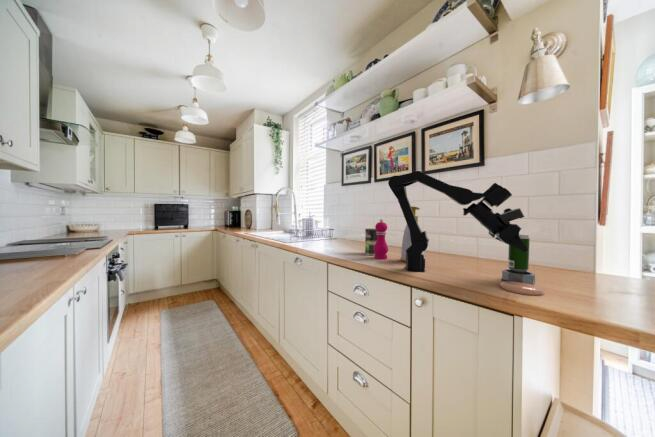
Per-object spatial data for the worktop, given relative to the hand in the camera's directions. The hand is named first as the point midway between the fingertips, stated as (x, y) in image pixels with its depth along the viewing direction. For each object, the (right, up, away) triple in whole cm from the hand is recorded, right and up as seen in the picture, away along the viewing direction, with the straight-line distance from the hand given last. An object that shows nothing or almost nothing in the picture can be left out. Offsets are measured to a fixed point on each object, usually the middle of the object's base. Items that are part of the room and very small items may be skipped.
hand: (523, 249), depth 78 cm
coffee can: (-40, -10, +52) cm, 67 cm away
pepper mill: (-39, -10, +40) cm, 57 cm away
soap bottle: (-26, -10, +33) cm, 43 cm away
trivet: (-8, -11, -9) cm, 16 cm away
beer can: (-1, -7, +1) cm, 7 cm away
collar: (-1, -11, +1) cm, 11 cm away
